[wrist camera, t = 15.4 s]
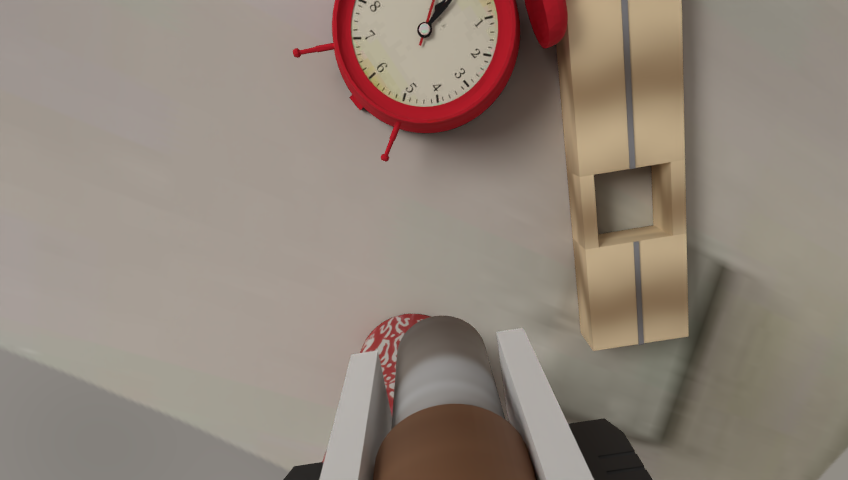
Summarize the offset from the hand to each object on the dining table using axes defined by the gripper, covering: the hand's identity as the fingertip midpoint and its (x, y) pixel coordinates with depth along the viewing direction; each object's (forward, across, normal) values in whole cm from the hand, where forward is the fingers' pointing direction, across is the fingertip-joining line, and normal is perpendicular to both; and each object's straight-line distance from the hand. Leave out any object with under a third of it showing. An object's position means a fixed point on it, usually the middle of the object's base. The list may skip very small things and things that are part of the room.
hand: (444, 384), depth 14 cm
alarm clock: (+18, +3, +12) cm, 22 cm away
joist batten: (+18, +12, +2) cm, 22 cm away
